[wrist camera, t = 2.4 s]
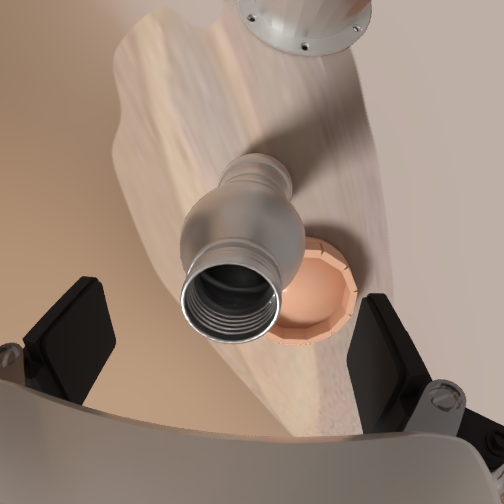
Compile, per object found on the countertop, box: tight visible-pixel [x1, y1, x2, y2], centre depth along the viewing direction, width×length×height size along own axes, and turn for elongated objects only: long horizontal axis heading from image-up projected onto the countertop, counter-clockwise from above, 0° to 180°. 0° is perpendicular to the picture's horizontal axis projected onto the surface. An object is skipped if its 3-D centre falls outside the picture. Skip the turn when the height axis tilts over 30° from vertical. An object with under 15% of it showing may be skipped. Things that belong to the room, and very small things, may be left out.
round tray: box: [263, 236, 358, 345], centre depth 32 cm, size 12×12×3 cm
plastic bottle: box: [180, 153, 306, 344], centre depth 20 cm, size 6×7×20 cm
